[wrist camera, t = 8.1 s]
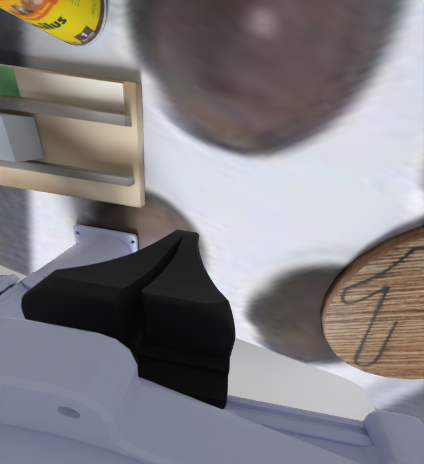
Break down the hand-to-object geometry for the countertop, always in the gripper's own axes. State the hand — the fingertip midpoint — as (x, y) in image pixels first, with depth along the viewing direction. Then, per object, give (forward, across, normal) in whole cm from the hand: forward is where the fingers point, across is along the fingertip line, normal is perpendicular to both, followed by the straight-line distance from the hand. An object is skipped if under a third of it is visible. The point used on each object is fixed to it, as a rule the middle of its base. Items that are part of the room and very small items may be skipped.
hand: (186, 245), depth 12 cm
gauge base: (+10, +17, -4) cm, 20 cm away
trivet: (+11, -29, +10) cm, 33 cm away
